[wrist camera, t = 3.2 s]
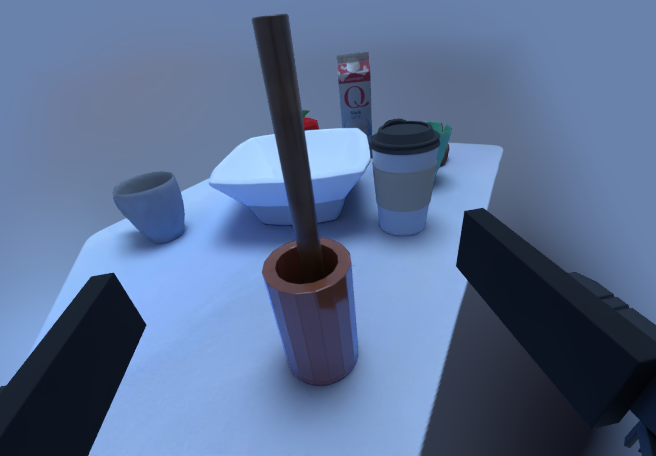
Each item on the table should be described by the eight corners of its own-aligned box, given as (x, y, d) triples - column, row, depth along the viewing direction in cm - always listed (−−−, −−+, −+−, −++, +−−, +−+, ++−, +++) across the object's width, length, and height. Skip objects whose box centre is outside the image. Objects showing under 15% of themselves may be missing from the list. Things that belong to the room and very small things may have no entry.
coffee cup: (445, 231, 44) (458, 125, 36) (388, 246, 42) (388, 139, 34) (413, 204, 51) (418, 112, 44) (363, 216, 50) (359, 123, 42)
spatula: (341, 330, 30) (304, 12, 16) (344, 346, 29) (307, 10, 14) (306, 337, 30) (235, 20, 16) (307, 353, 29) (230, 19, 14)
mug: (205, 222, 54) (185, 171, 49) (171, 251, 47) (145, 195, 42) (151, 218, 57) (128, 170, 52) (112, 246, 50) (81, 193, 45)
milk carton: (372, 157, 73) (369, 52, 61) (344, 160, 73) (336, 56, 62) (370, 149, 78) (367, 51, 67) (344, 151, 79) (337, 54, 67)
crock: (372, 346, 29) (368, 255, 23) (323, 401, 25) (304, 308, 19) (321, 313, 33) (308, 228, 28) (273, 356, 29) (245, 268, 24)
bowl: (367, 173, 65) (365, 124, 60) (375, 240, 44) (374, 173, 38) (257, 181, 68) (246, 135, 62) (216, 248, 46) (193, 187, 41)
